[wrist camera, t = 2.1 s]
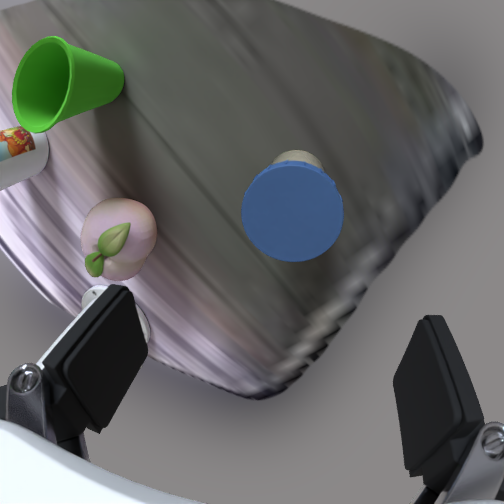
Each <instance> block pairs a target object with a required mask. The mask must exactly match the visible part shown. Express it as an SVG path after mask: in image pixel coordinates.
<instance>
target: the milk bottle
mask: <svg viewBox="0 0 504 504" xmlns="http://www.w3.org/2000/svg"><path fill="white" fill-rule="evenodd" d="M48 155H49V146H48V140H47V137H46V134H45V132H43V133H36V134H35V133H32V132H29V131H27V130H26V129H24V128H23V127H22V126H18V127H14V128H10V129H6V130H2V131H0V191H1V190H3V189H5V188H8V187H10V186H12V185H14V184H16V183H19V182H21V181H23V180H26V179H28V178H30V177H33V176H35V175H37V174H39V173H40V172H41V171H42V170H43V169H44V167H45V165H46V163H47V160H48Z"/></svg>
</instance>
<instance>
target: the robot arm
mask: <svg viewBox="0 0 504 504" xmlns="http://www.w3.org/2000/svg"><path fill="white" fill-rule="evenodd" d="M81 306H82V312H81V313H80V314H79V315H78V316H77V317H76V318H75V319H74V321H73V322H72V323H71V324H70V325H69V326H68V327H67V328H66V329H65V331H64V332H63V333H62V334H61V335H60V336H59V338H58V339H57V340H56V341H55V342H54V343H53V344H52V346H51V347H50V348H49V349H48V350H47V352H46V353H45V354H44V355H43V356H42V358H41V359H40V360H39V361H38V362H37V363H36V364H33V363H25V364H22V365H20V366H19V367H17V368H15V369H14V370H13V372H12V373H11V374H10V376H9V378H8V382H7V385H4V386H1V387H0V504H207V503H203V502H198V501H194V500H190V499H186V498H183V497H180V496H176V495H173V494H169V493H166V492H163V491H160V490H157V489H154V488H151V487H148V486H145V485H142V484H139V483H137V482H134V481H132V480H129V479H126V478H124V477H121V476H119V475H116V474H114V473H112V472H110V471H107V470H105V469H103V468H101V467H98V466H96V465H94V464H92V463H90V459H89V455H88V451H87V447H86V442H85V438H84V433H83V432H84V430H85V428H86V427H87V428H88V429H90V430H92V431H94V432H97V433H99V434H100V432H101V430H102V429H103V428H105V427H107V426H108V424H109V423H110V421H111V419H112V417H113V415H114V413H115V412H116V410H117V408H118V406H119V405H120V403H121V401H122V399H123V397H124V396H125V394H126V392H127V390H128V389H129V387H130V385H131V383H132V382H133V380H134V378H135V376H136V375H137V373H138V371H139V369H141V368H142V366H143V363H144V361H145V359H146V357H147V355H148V346H147V343H148V341H149V338H150V327H149V324H148V321H147V319H146V317H145V315H144V314H143V312H142V311H141V309H140V308H139V307H138V306H137V305H136V304H135V300H134V297H133V294H132V292H130V291H129V289H128V287H126V286H121V285H115V284H111V285H110V286H101V285H98V286H93V287H92V288H90V289H89V290H88V291H87V292H86V293H85V294H84V295H83V298H82V304H81ZM393 387H394V392H395V397H396V404H397V410H398V417H399V423H400V431H401V438H402V446H403V455H404V465H405V469H406V470H409V474H410V477H416V476H422V475H423V483H424V484H423V486H422V487H421V488H420V490H419V491H418V493H417V494H416V495H415V497H414V498H413V500H412V501H411V502H410V504H504V424H502V423H500V422H489V423H487V424H485V423H484V416H483V413H482V410H481V407H480V404H479V401H478V398H477V395H476V393H475V390H474V387H473V384H472V382H471V379H470V377H469V374H468V372H467V369H466V367H465V364H464V362H463V359H462V357H461V354H460V352H459V350H458V347H457V346H456V343H455V341H454V338H453V336H452V334H451V332H450V330H449V328H448V326H447V324H446V322H445V319H444V318H443V316H441V315H426V316H424V318H423V320H419V321H418V323H417V326H416V328H415V331H414V333H413V335H412V338H411V340H410V342H409V345H408V347H407V349H406V351H405V354H404V356H403V358H402V360H401V362H400V364H399V366H398V369H397V371H396V373H395V375H394V379H393Z"/></svg>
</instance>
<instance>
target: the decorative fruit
mask: <svg viewBox="0 0 504 504" xmlns="http://www.w3.org/2000/svg"><path fill="white" fill-rule="evenodd" d="M156 239H157V226H156V221H155V218H154V216H153V214H152V213H151V211H150V210H149V209H148V208H147V207H146V206H145V205H144V204H142V203H140V202H138V201H135V200H132V199H127V198H110V199H106V200H104V201H102V202H100V203H98V204H97V205H96V206H94V207H93V208H92V209H91V210H90V212H89V213H88V215H87V217H86V219H85V221H84V224H83V227H82V231H81V247H82V251H83V253H84V256H85V257H86V258H85V267H86V270H87V272H88V273H89V274H90V275H91V276H92V277H99V276H102V277H104V278H107V279H109V280H113V281H123V280H128V279H130V278H132V277H134V276H135V275H136V274H137V273H138V272H139V271H140V269H141V268H142V266H143V264H144V262H145V260H146V258H147V255H148V254H149V253H150V252H151V251H152V250H153V248H154V246H155V243H156Z"/></svg>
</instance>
